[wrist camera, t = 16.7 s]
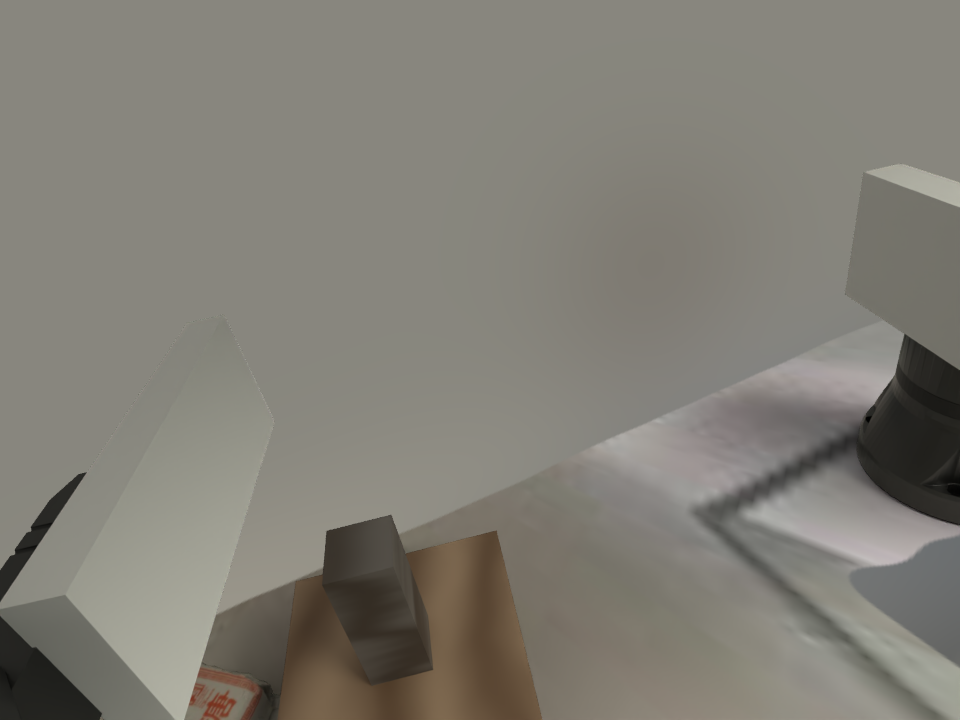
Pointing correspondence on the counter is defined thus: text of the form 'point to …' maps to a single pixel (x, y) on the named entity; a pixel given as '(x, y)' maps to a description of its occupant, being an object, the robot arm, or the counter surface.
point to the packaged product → (231, 697)
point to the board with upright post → (406, 633)
